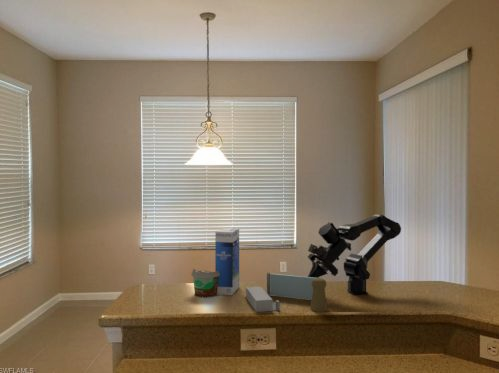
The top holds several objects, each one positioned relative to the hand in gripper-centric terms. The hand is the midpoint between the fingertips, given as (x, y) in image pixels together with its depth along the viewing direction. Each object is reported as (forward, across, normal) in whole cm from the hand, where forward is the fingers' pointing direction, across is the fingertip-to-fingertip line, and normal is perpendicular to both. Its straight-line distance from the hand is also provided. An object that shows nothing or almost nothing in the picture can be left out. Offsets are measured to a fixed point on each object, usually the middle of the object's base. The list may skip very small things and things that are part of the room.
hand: (307, 279), depth 152 cm
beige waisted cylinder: (+6, +14, +4) cm, 16 cm away
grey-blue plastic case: (+18, +2, -8) cm, 20 cm away
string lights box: (+26, -17, -15) cm, 35 cm away
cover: (+8, -1, +1) cm, 8 cm away
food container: (+34, -12, -23) cm, 43 cm away
